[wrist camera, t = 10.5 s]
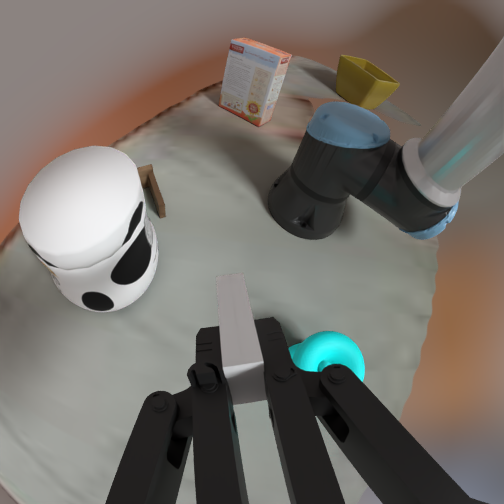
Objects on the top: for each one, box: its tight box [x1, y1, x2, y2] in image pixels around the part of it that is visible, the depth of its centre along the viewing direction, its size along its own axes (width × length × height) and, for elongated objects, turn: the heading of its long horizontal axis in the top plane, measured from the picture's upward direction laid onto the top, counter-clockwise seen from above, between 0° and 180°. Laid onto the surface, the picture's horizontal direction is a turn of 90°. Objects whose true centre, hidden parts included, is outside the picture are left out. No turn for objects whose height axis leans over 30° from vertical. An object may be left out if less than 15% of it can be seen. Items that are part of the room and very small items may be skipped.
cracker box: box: [219, 38, 292, 127], centre depth 58 cm, size 14×6×21 cm, turn 53°
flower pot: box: [336, 55, 400, 109], centre depth 84 cm, size 19×19×17 cm
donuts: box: [288, 331, 365, 382], centre depth 33 cm, size 10×10×10 cm
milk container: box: [19, 146, 158, 312], centre depth 32 cm, size 17×17×18 cm
